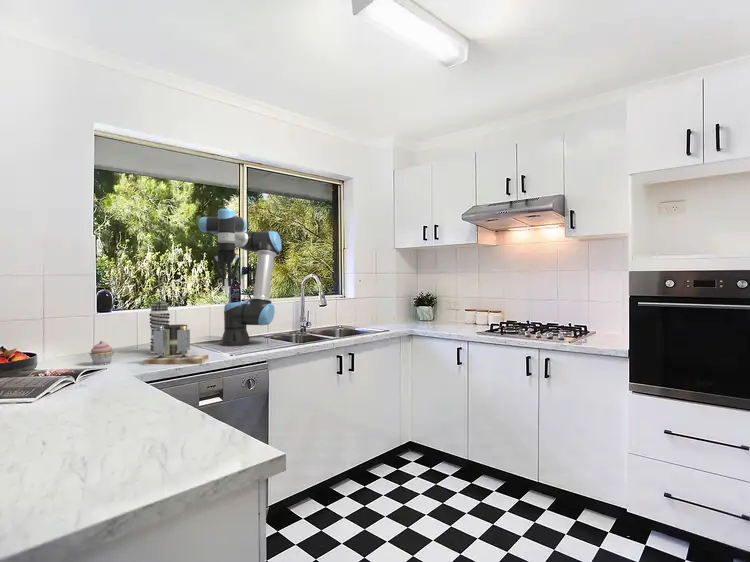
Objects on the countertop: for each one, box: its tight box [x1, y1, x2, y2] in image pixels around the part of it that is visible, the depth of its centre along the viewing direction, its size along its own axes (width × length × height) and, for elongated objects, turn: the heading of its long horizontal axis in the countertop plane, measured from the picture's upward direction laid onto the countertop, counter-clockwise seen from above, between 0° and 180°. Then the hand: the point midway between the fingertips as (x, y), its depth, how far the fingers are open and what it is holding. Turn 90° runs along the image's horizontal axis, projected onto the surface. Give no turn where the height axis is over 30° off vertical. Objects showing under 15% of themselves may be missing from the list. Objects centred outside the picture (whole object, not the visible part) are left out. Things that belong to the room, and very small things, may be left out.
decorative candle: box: [148, 300, 171, 354], centre depth 220 cm, size 9×9×25 cm
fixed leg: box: [153, 326, 167, 358], centre depth 194 cm, size 4×4×14 cm
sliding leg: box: [177, 326, 191, 357], centre depth 195 cm, size 4×4×13 cm
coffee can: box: [163, 324, 188, 356], centre depth 212 cm, size 10×10×14 cm
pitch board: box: [142, 354, 209, 365], centre depth 195 cm, size 24×10×2 cm, turn 96°
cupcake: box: [88, 340, 115, 365], centre depth 192 cm, size 9×9×10 cm
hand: (226, 293), depth 207 cm, fingers closed
